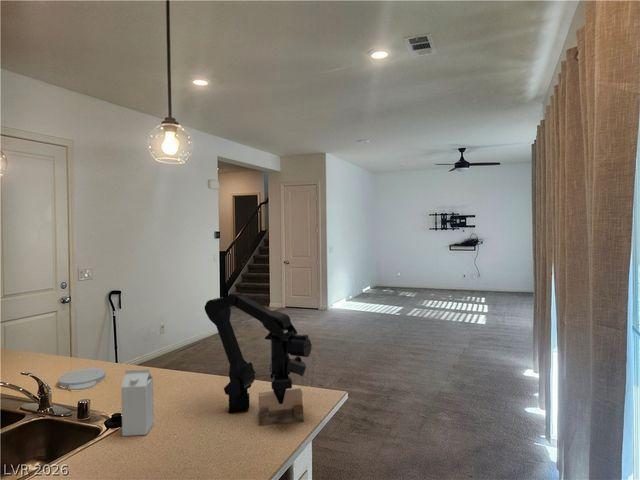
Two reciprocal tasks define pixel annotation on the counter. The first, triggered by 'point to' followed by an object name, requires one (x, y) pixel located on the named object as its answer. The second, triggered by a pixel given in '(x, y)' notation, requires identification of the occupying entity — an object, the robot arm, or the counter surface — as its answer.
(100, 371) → the lid
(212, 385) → the counter surface
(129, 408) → the milk carton
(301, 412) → the bracket
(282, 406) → the clay bar
